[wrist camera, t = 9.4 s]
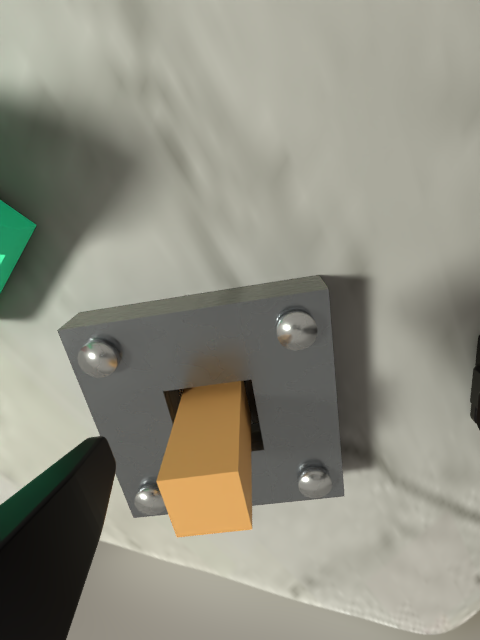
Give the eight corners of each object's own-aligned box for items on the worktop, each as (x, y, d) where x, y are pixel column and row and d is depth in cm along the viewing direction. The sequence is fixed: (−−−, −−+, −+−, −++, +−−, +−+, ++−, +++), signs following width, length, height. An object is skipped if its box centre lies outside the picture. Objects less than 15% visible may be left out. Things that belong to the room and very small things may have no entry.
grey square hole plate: (319, 275, 19) (331, 292, 16) (335, 465, 25) (346, 504, 22) (78, 312, 20) (51, 335, 18) (143, 486, 26) (130, 526, 23)
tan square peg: (241, 370, 22) (238, 471, 14) (250, 415, 23) (252, 529, 16) (186, 378, 22) (156, 481, 15) (199, 422, 23) (176, 537, 16)
